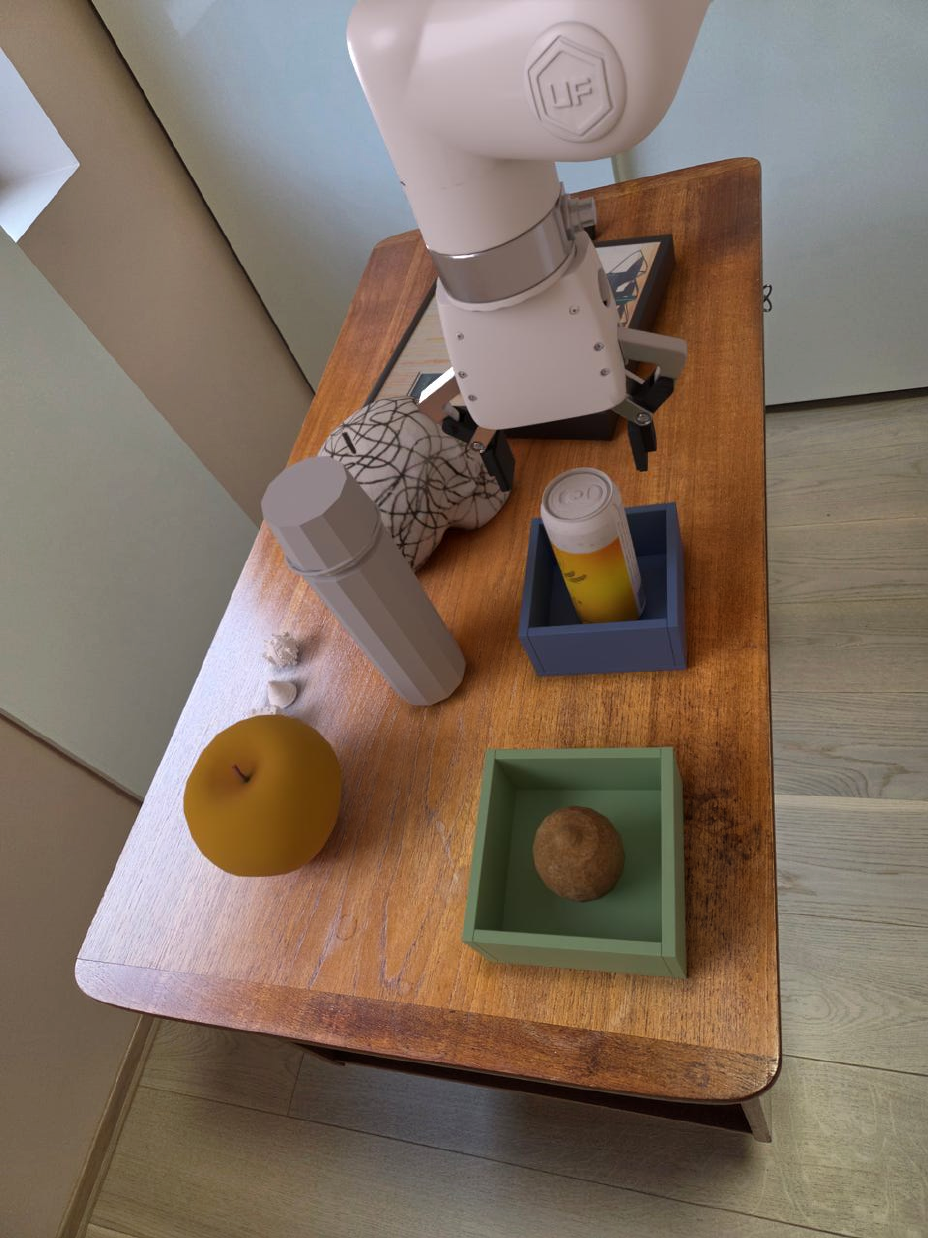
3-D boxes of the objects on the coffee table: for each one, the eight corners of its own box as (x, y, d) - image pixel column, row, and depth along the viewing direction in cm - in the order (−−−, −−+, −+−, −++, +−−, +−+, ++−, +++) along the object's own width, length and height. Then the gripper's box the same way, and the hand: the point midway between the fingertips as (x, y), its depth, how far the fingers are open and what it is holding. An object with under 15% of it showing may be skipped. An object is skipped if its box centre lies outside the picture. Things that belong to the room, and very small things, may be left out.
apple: (366, 738, 70) (306, 675, 61) (378, 878, 62) (310, 829, 53) (239, 777, 72) (164, 722, 63) (235, 918, 64) (147, 877, 55)
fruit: (615, 930, 54) (593, 898, 47) (535, 895, 57) (504, 861, 51) (645, 846, 56) (628, 806, 50) (567, 818, 59) (542, 776, 53)
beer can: (579, 583, 71) (540, 469, 60) (647, 577, 69) (619, 458, 58) (576, 639, 68) (533, 529, 56) (646, 634, 66) (617, 520, 54)
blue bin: (683, 549, 70) (675, 501, 65) (686, 669, 64) (678, 626, 59) (548, 562, 75) (531, 518, 70) (537, 676, 68) (517, 636, 63)
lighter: (588, 249, 107) (602, 215, 102) (585, 258, 106) (599, 225, 101) (534, 225, 106) (546, 191, 102) (530, 234, 105) (542, 200, 101)
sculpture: (528, 557, 76) (482, 446, 64) (342, 614, 80) (267, 519, 68) (505, 455, 85) (461, 342, 74) (340, 511, 89) (273, 412, 77)
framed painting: (605, 413, 78) (358, 412, 92) (611, 440, 81) (371, 436, 95) (672, 233, 92) (448, 256, 106) (675, 262, 95) (457, 280, 109)
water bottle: (487, 675, 70) (373, 484, 50) (416, 728, 69) (273, 554, 50) (437, 615, 75) (318, 423, 56) (371, 664, 75) (228, 486, 55)
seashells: (291, 748, 72) (273, 733, 70) (259, 754, 73) (241, 739, 70) (305, 642, 79) (290, 624, 77) (277, 647, 80) (260, 631, 78)
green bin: (682, 783, 58) (673, 746, 53) (686, 979, 51) (675, 957, 46) (509, 783, 63) (485, 749, 58) (490, 962, 56) (461, 941, 51)
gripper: (664, 163, 41) (699, 410, 54) (372, 245, 47) (467, 449, 60) (665, 243, 37) (703, 489, 50) (345, 322, 43) (453, 523, 56)
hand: (574, 467), depth 55 cm, fingers open, 9 cm apart
